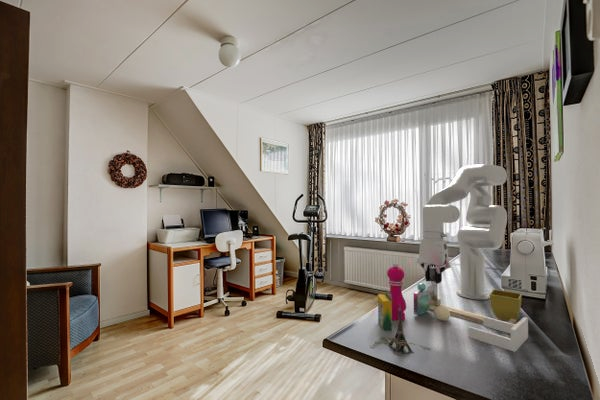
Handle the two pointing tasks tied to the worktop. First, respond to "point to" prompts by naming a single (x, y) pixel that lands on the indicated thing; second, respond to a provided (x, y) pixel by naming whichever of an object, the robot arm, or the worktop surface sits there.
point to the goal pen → (516, 330)
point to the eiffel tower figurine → (398, 341)
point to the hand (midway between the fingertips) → (433, 281)
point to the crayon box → (385, 311)
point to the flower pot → (505, 304)
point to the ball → (442, 313)
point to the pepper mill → (396, 291)
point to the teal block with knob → (426, 294)
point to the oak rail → (466, 314)
